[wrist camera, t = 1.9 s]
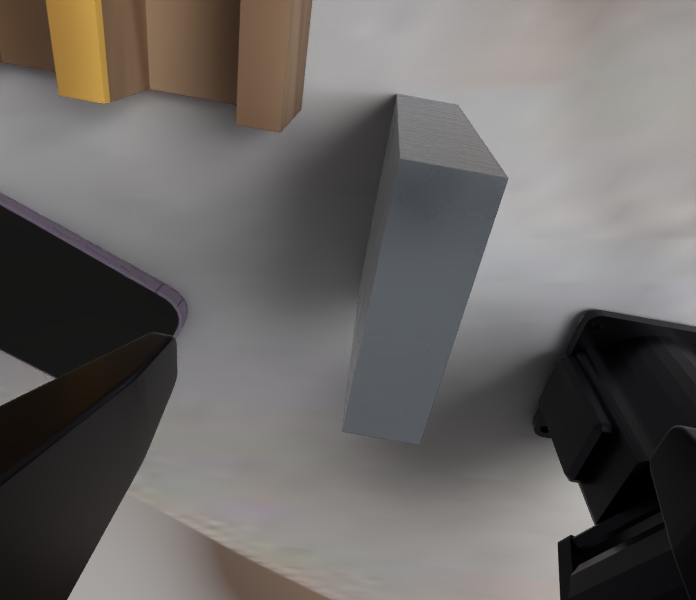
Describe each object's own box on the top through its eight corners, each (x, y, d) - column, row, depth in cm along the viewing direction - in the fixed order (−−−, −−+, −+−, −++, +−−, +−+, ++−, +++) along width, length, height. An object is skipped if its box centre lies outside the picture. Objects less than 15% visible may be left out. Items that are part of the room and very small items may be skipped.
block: (457, 104, 16) (508, 178, 9) (409, 290, 19) (419, 445, 13) (396, 93, 16) (399, 158, 9) (359, 281, 19) (342, 431, 12)
